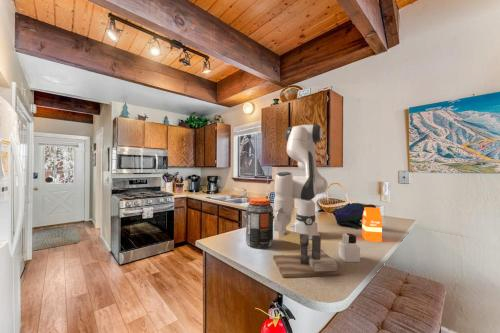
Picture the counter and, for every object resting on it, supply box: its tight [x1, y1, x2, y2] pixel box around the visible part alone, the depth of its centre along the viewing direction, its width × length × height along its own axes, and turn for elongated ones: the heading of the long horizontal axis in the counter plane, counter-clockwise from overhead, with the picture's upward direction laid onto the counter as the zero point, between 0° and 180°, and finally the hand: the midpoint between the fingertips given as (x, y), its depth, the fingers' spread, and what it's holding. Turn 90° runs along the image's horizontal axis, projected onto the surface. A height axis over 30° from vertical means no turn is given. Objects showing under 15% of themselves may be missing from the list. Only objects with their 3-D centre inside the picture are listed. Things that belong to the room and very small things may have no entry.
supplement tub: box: [245, 197, 274, 249], centre depth 124 cm, size 16×16×26 cm
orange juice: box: [361, 207, 383, 243], centre depth 135 cm, size 8×9×20 cm
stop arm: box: [278, 229, 310, 246], centre depth 100 cm, size 14×4×4 cm, turn 50°
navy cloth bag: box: [332, 202, 377, 230], centre depth 162 cm, size 21×26×30 cm
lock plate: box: [272, 235, 341, 279], centre depth 96 cm, size 18×24×14 cm
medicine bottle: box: [338, 232, 361, 263], centre depth 105 cm, size 7×7×12 cm
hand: (282, 236), depth 100 cm, fingers closed
